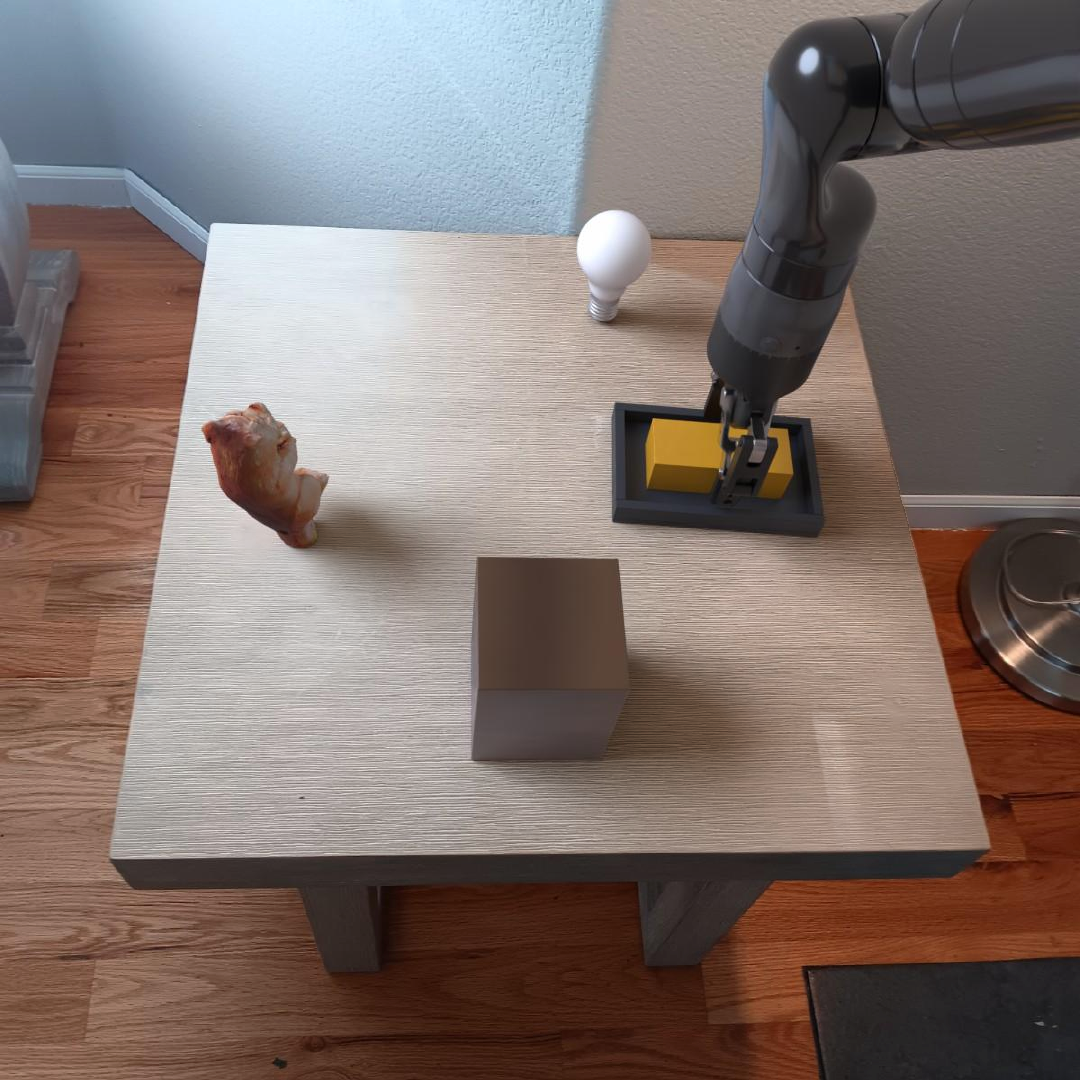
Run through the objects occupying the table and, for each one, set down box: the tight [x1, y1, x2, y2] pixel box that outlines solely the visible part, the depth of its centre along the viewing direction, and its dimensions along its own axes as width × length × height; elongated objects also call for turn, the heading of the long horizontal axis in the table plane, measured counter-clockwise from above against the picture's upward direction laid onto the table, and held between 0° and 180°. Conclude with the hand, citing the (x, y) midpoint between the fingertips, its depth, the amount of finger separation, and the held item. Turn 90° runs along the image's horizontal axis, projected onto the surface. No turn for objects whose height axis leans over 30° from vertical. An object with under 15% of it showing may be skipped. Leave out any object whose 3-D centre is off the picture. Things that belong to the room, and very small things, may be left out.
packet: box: [645, 418, 793, 499], centre depth 81 cm, size 11×4×4 cm, turn 88°
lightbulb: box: [576, 209, 653, 322], centre depth 87 cm, size 6×6×11 cm
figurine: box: [200, 401, 330, 549], centre depth 70 cm, size 6×8×15 cm
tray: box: [610, 401, 826, 538], centre depth 82 cm, size 11×17×2 cm, turn 88°
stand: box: [470, 556, 631, 761], centre depth 66 cm, size 9×9×12 cm
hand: (718, 457), depth 81 cm, fingers open, 8 cm apart
